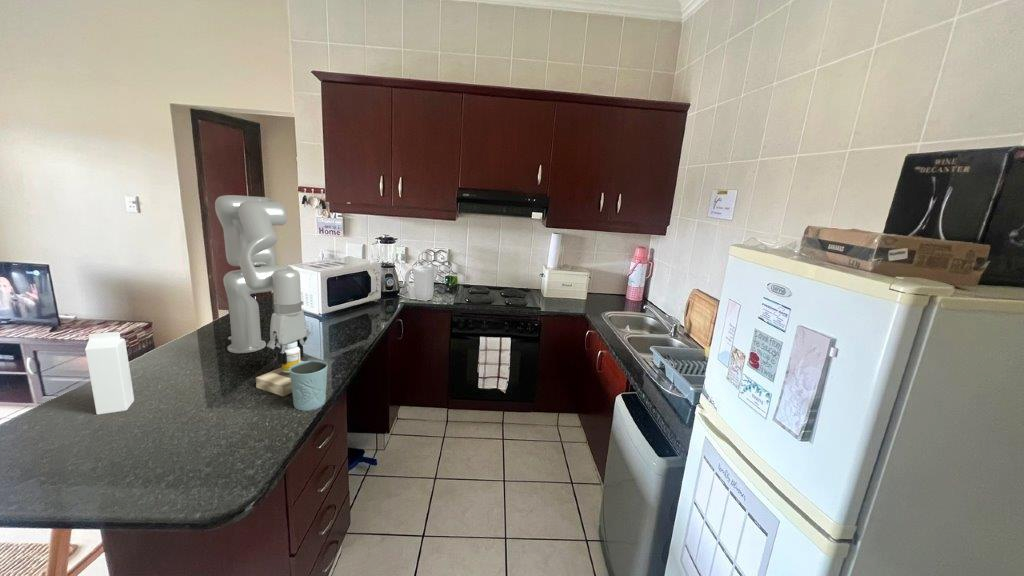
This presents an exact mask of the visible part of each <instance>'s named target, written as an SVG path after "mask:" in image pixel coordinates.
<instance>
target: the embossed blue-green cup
mask: <svg viewBox="0 0 1024 576" xmlns="http://www.w3.org/2000/svg"><path fill="white" fill-rule="evenodd" d="M328 366H329V365H328V363H327V362H325V361H323V360H317V359H315V360H304V362H300V363H297V364H295V365H293V366H291V367H290V368H289V373H290V378H291V387H292V393H291V394H292V399H293V401H292V402H293V407H294V408H295V409H296V410H297V409H298V410H297V411H300V410H302V411H301V412H308V411H313V409H314V410H317V409H319V408H321V407H323V406H322V405H325V404H326V401H327V400H326V398H327V394H326V393H327V385H328V384H327V380H328V379H327V377H328V375H327V374H328Z"/></svg>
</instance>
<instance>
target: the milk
mask: <svg viewBox="0 0 1024 576" xmlns="http://www.w3.org/2000/svg"><path fill="white" fill-rule="evenodd" d="M84 350H85V358H86V361H87V362H86V363H87V367H88V372H89V373H88V374H89V380H90V385H91V390H92V391H91V392H92V396H93V403H94V406H95V413H96V415H103V414H111V413H117V412H124V411H125V412H126V411H127V410H128V409H129V408H130V406H131V405H132V404H133V403H134V401H135V394H134V389H133V388H134V387H133V382H132V376H131V375H132V374H131V369H130V363H129V357H128V351H127V344H126V339H125V338H124V337H121V334H120V332H119V331H113V332H100V333H89V334H88V341H87V344H86V347H85V348H84Z"/></svg>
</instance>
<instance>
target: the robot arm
mask: <svg viewBox="0 0 1024 576" xmlns="http://www.w3.org/2000/svg"><path fill="white" fill-rule="evenodd" d="M214 207H215V209H214V210H215V214H216V216H217V218H218V220H219V223H220V224H221V227H222V229H223V239H224V249H225V257H226V261H227V263H228V264H229V265H230V266H233V267H239V268H240V269H237V270H231V271H228V272H227V273H225V275H224V276H223V280H222V281H223V285H224V286H223V287H224V290H225V292H226V293H225V294H226V298H227V302H228V311H229V321H230V322H229V323H230V333H231V336H228V337H227V339H228V340H229V341H230V342H231V343H230V344H229V345H228V346H227V352H230V353H234V354H249V353H253V352H257V351H260V350H263V349H264V348H265V347H267V348H269V349H271V350H272V351H274V352H275V353H277V362H278V364H281V365H282V364H284V365H285V364H287V354H286V353H285V348H286V344H288V343H291V342H294V341H297V344H298V345H297V347H299V348H300V358H301V359H302V358H304V346H305V344H306V341H307V340H308V338H309V336H310V335H311V331H309V329H307V323H306V322H307V321H306V317H305V316H306V315H305V313H304V310H303V309H302V306H303V305H304V300H302V292H301V274H300V272H299V271H298V270H296V269H294V268H293V267H292V266H290V265H288V264H287V265H286V264H281V265H277V264H278V263H277V254H276V250H275V249H276V248H275V247H274V246H275V245H276V244H277V242H278V236H277V233H276V231H275V228H274V226H283V225H285V224H286V223H287V222H288V213H287V209H286V208H285V206H284V205H283V204H282V203H281V202H280V201H277V200H276V199H273V198H271V197H266V196H251V195H236V194H232V195H231V194H230V195H229V194H225V195H220V196H218V197H217V198H216V199H215V203H214ZM271 291H272V292H273V305H274V312H273V313H272V314H271V319H270V325H269V331H270V332H269V338H270V340H269V341H268V342H267V343H266V341H265V340H262V333H261V320H260V307H259V303H258V301H257V300H256V299H255V298H253V297H252V296H251V295H252V294H258V293H268V292H271ZM275 344H276V345H275Z"/></svg>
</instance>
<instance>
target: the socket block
mask: <svg viewBox="0 0 1024 576" xmlns="http://www.w3.org/2000/svg"><path fill="white" fill-rule="evenodd" d="M304 361H305V360H304ZM304 361H303V360H301V362H304ZM255 383H256V384H255V387H256V389H260V390H262V391H265V392H269V393H272V394H274V395H278V396H280V397H286V396H287V395H289V394H293V393H292V387H291V378H290V373H286V372H283V370H282V366H281V367H279V368H276V369H274V370H271V371H269V372H267V373H264V374H261V375H259V376H257V377H255Z"/></svg>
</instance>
